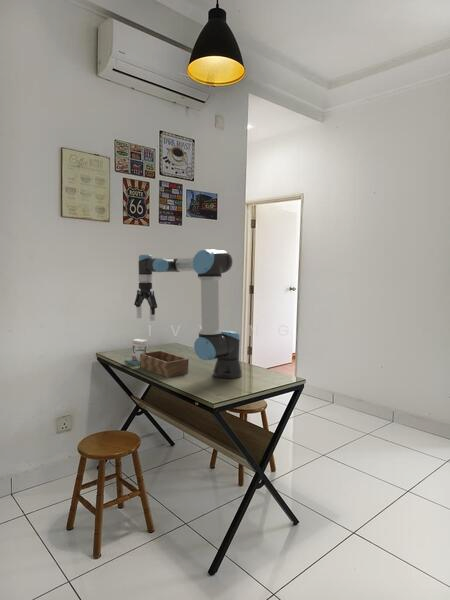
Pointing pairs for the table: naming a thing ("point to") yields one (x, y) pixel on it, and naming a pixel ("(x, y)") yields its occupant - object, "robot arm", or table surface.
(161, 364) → the crate
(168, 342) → the table surface
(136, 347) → the ink box
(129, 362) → the zone mat
